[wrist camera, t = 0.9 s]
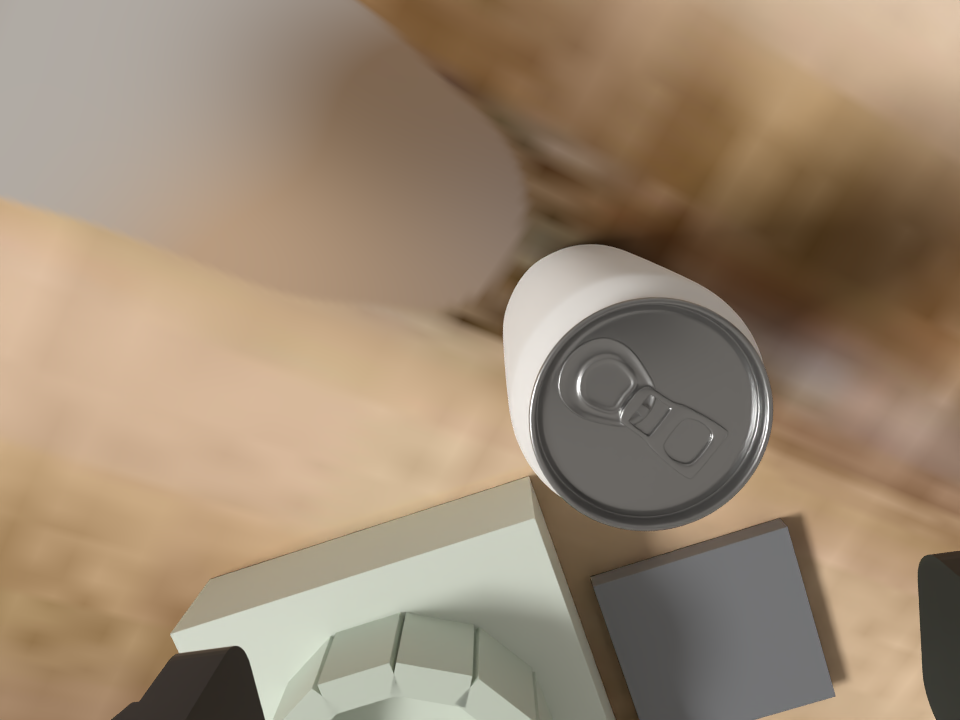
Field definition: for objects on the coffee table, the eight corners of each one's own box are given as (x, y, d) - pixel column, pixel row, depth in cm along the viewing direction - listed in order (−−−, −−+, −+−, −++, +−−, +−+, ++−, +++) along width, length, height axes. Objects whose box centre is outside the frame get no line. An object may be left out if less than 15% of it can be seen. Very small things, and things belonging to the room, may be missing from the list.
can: (568, 207, 28) (622, 219, 17) (705, 306, 29) (851, 384, 17) (469, 348, 29) (455, 451, 18) (603, 439, 30) (675, 597, 18)
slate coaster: (779, 518, 31) (787, 526, 30) (827, 684, 32) (835, 696, 32) (590, 576, 31) (593, 586, 31) (646, 736, 33) (650, 749, 32)
